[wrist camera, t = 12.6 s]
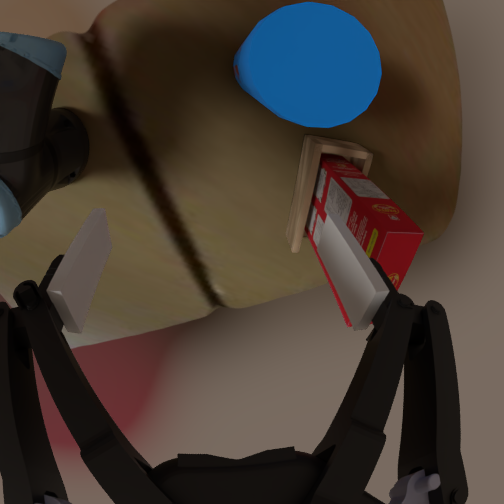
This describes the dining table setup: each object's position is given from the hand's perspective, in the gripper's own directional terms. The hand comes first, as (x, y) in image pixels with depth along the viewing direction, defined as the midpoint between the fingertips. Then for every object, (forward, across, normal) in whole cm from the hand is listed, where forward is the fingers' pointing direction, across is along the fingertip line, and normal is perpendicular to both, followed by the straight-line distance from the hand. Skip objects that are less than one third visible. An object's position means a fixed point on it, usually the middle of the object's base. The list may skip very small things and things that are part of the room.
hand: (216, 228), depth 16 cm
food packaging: (+31, +20, -11) cm, 39 cm away
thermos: (+32, +7, +10) cm, 34 cm away
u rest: (+31, +20, -11) cm, 39 cm away
